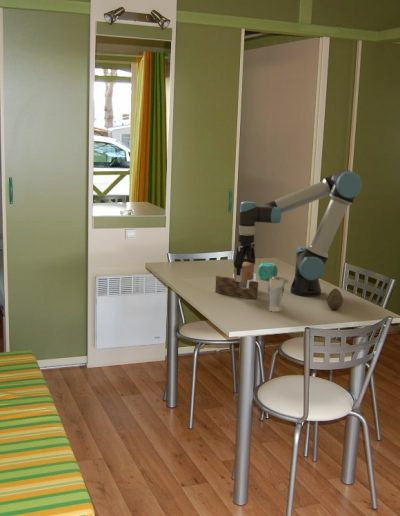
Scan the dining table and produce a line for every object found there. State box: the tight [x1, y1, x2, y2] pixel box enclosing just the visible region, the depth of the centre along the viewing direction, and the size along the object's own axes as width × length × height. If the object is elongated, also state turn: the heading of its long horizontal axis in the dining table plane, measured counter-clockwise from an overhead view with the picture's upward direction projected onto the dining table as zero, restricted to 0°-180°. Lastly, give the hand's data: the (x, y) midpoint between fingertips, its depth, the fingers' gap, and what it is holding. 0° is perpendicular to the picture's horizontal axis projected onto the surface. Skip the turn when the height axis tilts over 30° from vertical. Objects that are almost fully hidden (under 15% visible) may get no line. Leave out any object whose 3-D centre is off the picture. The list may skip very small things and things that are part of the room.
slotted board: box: [214, 274, 259, 300], centre depth 335 cm, size 22×2×8 cm, turn 59°
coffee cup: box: [233, 258, 248, 288], centre depth 348 cm, size 8×8×15 cm
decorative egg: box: [326, 288, 344, 311], centre depth 315 cm, size 7×7×10 cm
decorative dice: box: [257, 262, 279, 281], centre depth 373 cm, size 8×8×8 cm
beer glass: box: [267, 276, 285, 313], centre depth 309 cm, size 7×7×15 cm
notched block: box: [235, 262, 255, 283], centre depth 331 cm, size 10×5×8 cm, turn 149°
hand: (244, 279), depth 332 cm, fingers closed on notched block, 10 cm apart
